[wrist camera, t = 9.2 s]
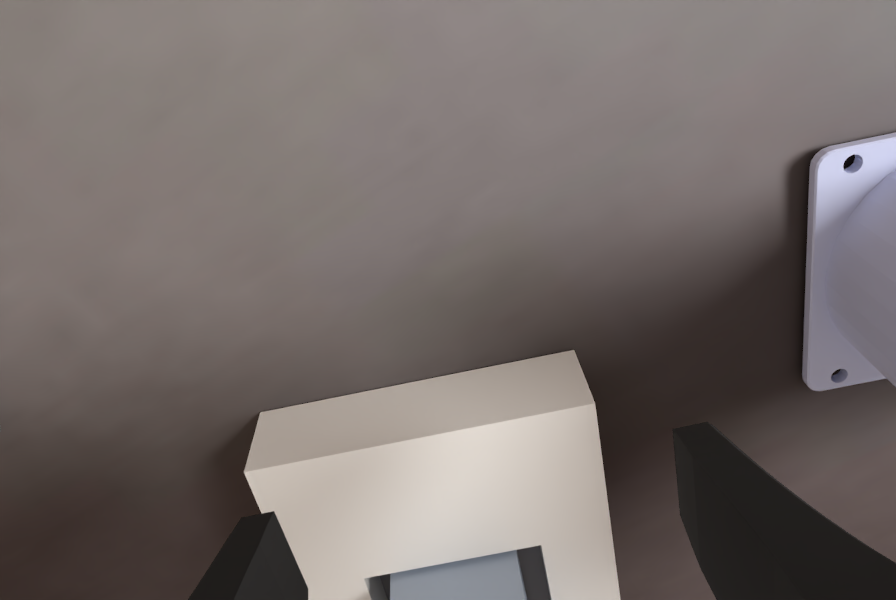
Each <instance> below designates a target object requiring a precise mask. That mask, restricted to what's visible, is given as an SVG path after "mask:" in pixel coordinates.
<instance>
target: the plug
mask: <svg viewBox="0 0 896 600" xmlns="http://www.w3.org/2000/svg"><path fill="white" fill-rule="evenodd" d="M390 600H527V595H526V591H525V586H524V581H523V576H522V572H521V567H520V562H519V557H518V553H517V550H513V551H507V552H502V553H497V554H491V555H486V556H481V557H476V558H470V559H465V560H460V561H454V562H449V563H444V564H438V565H433V566H428V567H423V568H417V569H412V570H407V571H401V572H396V573H391V574H390Z"/></svg>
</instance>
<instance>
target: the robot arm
mask: <svg viewBox="0 0 896 600" xmlns="http://www.w3.org/2000/svg"><path fill="white" fill-rule="evenodd" d="M852 155H855V160H854V163H853V164H852V165H851V166H850V167H848V168H846V169H844V168H843V165H844V162H845V160H846V159H847V158H848V157H849V156H852ZM838 369H841V370H840V371H839V372H838V373H837V374H836V375H833V376H832V374H833V373H834V372H835V371H836V370H838ZM802 377H803V381H804V382H805V383H806V384H807V386H808V387H809V388H810V389H811V390H814V391H824V390H829V389H835V388H840V387H845V386H850V385H855V384H860V383H865V382H871V381H876V380H881V379H886V378H887V379H888V380H889V381H890V382H891V383H892V384H893V385H894V386H895V387H896V132H895V133H891V134H886V135H881V136H876V137H871V138H867V139H862V140H857V141H852V142H847V143H842V144H838V145H833V146H828V147H826V148H823V149H821V150H820V151H819V152H818V153H816V154H815V156H814V157H813V159H812V160H811V164H810V170H809V199H808V227H807V255H806V283H805V311H804V339H803V368H802ZM673 439H674V451H675V462H676V474H677V485H678V497H679V508H680V516H681V518H682V521H683V524H684V526H685V529H686V532H687V534H688V537H689V540H690V542H691V545H692V548H693V550H694V553H695V555H696V558H697V560H698V563H699V565H700V568H701V570H702V572H703V574H704V576H705V578H706V580H707V582H708V584H709V586H710V588H711V590H712V592H713V593H714V595H715V597H716V599H717V600H896V563H895V562H893V561H891V560H890V559H888V558H886V557H885V556H883V555H882V554H880V553H878V552H877V551H875V550H874V549H872V548H870V547H869V546H867V545H866V544H864V543H863V542H861V541H860V540H858V539H857V538H855V537H854V536H852V535H851V534H849V533H848V532H846V531H845V530H843V529H842V528H841V527H839V526H838V525H836V524H835V523H833V522H832V521H830V520H829V519H828V518H826V517H825V516H823V515H822V514H821V513H819V512H818V511H817V510H815V509H814V508H812V507H811V506H810V505H808V504H807V503H806V502H804V501H803V500H802V499H801V498H799V497H798V496H797V495H795V494H794V493H793V492H791V491H790V490H789V489H788V488H786V487H785V486H784V485H782V484H781V483H780V482H779V481H777V480H776V479H775V478H774V477H772V476H771V475H770V474H769V473H767V472H766V471H765V470H764V469H763V468H761V467H760V466H759V465H758V464H757V463H755V462H754V461H753V460H752V459H751V458H749V457H748V456H747V455H746V454H745V453H744V452H742V451H741V450H740V449H739V448H738V447H737V446H736V445H734V444H733V443H732V442H731V441H730V440H729V439H728V438H726V437H725V436H724V435H723V434H722V433H721V432H720V431H719V430H718V429H716V428H715V427H714V426H713V425H711V424H710V423H708V422H705V423H700V424H695V425H691V426H686V427H681V428H676V429H673ZM188 600H308V587H307V585H306V582H305V580H304V578H303V575H302V573H301V571H300V569H299V566H298V564H297V562H296V560H295V557H294V555H293V553H292V551H291V548H290V546H289V544H288V541H287V539H286V537H285V535H284V532H283V530H282V528H281V526H280V523H279V521H278V519H277V517H276V514H275V512H274V511H272V512H268V513H263V514H258V515H253V516H248V517H243V518H241V519H240V521H239V522H238V524H237V525H236V527H235V528H234V530H233V531H232V533H231V534H230V536H229V537H228V539H227V541H226V542H225V544H224V545H223V547H222V548H221V550H220V551H219V553H218V555H217V556H216V558H215V559H214V561H213V562H212V564H211V565H210V567H209V569H208V570H207V572H206V573H205V575H204V576H203V578H202V579H201V581H200V582H199V584H198V586H197V587H196V589H195V590H194V592H193V593H192V595H191V596H190V597H189V599H188Z"/></svg>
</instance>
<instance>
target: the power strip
mask: <svg viewBox="0 0 896 600" xmlns="http://www.w3.org/2000/svg"><path fill="white" fill-rule="evenodd" d="M244 474H245V476H246V479H247V481H248V483H249V486H250V488H251V490H252V493H253V495H254V497H255V499H256V502H257V504H258V506H259V509H260V511H261V513H262V514H263V513H268V512H272V511H274V512H275V514H276V517H277V519H278V521H279V523H280V526H281V528H282V530H283V532H284V535H285V537H286V539H287V541H288V544H289V546H290V548H291V551H292V553H293V555H294V557H295V560H296V562H297V564H298V566H299V569H300V571H301V573H302V575H303V578H304V580H305V582H306V585H307V587H308V600H390V574H391V573H396V572H401V571H407V570H412V569H417V568H423V567H428V566H433V565H438V564H444V563H449V562H454V561H460V560H465V559H470V558H476V557H481V556H486V555H491V554H497V553H502V552H507V551H513V550H517V553H518V557H519V562H520V567H521V572H522V576H523V581H524V586H525V591H526V595H527V600H620V593H619V585H618V577H617V569H616V561H615V554H614V546H613V538H612V530H611V522H610V515H609V507H608V499H607V491H606V483H605V476H604V468H603V460H602V452H601V444H600V437H599V429H598V421H597V413H596V406H595V402H594V399H593V396H592V394H591V391H590V389H589V386H588V384H587V381H586V379H585V376H584V374H583V371H582V369H581V366H580V363H579V361H578V358H577V356H576V353H575V351H574V350H571V351H566V352H561V353H556V354H551V355H546V356H540V357H535V358H530V359H525V360H520V361H515V362H510V363H505V364H500V365H495V366H490V367H485V368H480V369H475V370H470V371H465V372H460V373H455V374H450V375H445V376H440V377H435V378H430V379H425V380H420V381H415V382H410V383H405V384H400V385H395V386H390V387H385V388H380V389H375V390H370V391H365V392H360V393H355V394H350V395H345V396H340V397H335V398H330V399H325V400H320V401H315V402H310V403H305V404H300V405H295V406H290V407H285V408H280V409H275V410H270V411H265V412H260V415H259V419H258V422H257V426H256V430H255V433H254V437H253V441H252V444H251V448H250V452H249V455H248V459H247V462H246V466H245V470H244Z"/></svg>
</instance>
